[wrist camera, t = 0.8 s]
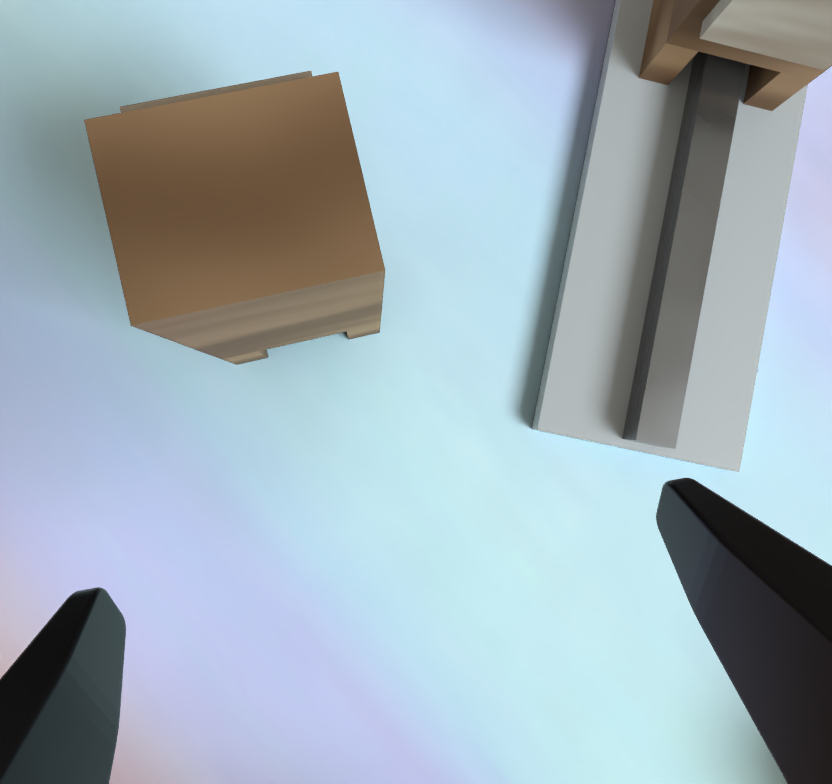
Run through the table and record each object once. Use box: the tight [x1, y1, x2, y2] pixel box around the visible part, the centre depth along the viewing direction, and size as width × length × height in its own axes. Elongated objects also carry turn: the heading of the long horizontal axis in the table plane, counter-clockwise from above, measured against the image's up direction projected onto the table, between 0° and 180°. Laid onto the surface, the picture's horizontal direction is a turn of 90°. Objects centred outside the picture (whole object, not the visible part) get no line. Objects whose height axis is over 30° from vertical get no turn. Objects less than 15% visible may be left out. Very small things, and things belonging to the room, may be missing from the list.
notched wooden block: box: [84, 71, 385, 365], centre depth 18 cm, size 5×6×10 cm
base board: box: [532, 0, 808, 472], centre depth 24 cm, size 20×8×1 cm, turn 168°
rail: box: [622, 51, 746, 449], centre depth 23 cm, size 19×2×1 cm, turn 168°
